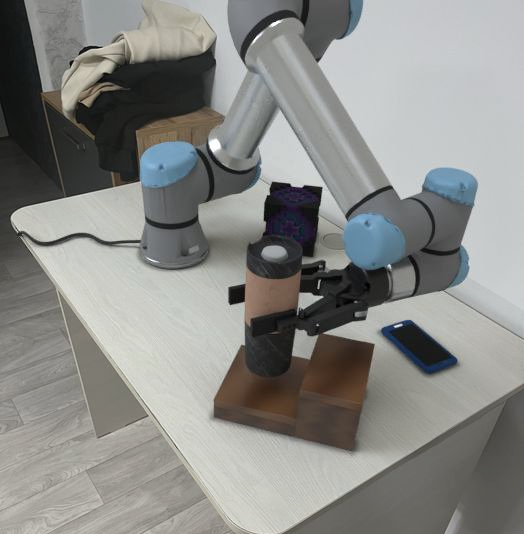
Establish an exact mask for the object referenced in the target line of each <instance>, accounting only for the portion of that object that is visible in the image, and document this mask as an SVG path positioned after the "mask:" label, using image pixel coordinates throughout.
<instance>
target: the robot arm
mask: <svg viewBox="0 0 524 534" xmlns="http://www.w3.org/2000/svg"><path fill="white" fill-rule="evenodd" d="M226 6H227V7H226V8H227V9H226V13H227V14H226V15H227V24H228V30H229V33H230V37H231V40H232V44H233V47H234V49H235V50H236V53H237V55H238V57H239V58H240V60H241V61H242V63H243V65H244V66H245V68H246V69H247V72H246V73H245V75H244V77H243V80H242V82H241V84H240V86H239V88H238V90H237V92H236V95H235V97H234V98H233V101H232V103H231V105H230V107H229V109H228V112H227V114H226V115H225V117H224V120H223V122H222V123H220V124H218V125H215V126H214V127H213V128H212V129H211V130H210V132H209V134H208V136H207V137H206V139H205V142H204V143H203V144H201V145H197V146H194V145H193V144H191V143H190V142H186V141H180V140H176V141H172V142H171V141H166V142H160V143H157V144H154V145H152V146H149V148H147V149H146V150H145V151H144V152H143V153H142V155H141V157H140V160H139V181H140V185H141V194H142V205H143V213H144V226H143V230H142V234H141V239H124V240H123V239H122V240H113V241H111V240H104V239H100V238H99V237H98V236H95V234H92V233H89V232H75V233H71V234H67V235H64V236H62V237H60V238H57V239H54V240H50V241H42V240H41V241H40V240H37V239H35V238H34V237H32V236H31V235H30V234H29V233H28V232H26V231H24V230H20V231H18V232H17V233H16V236H17V237H20V236H21V235H23V236H24V237H26V238H27V239H29V241H31V242H33V243H34V244H36V245H39V246H40V245H41V246H49V245H55V244H58V243H61V242H65V241H66V240H68V239H72V238H75V237H89V238H91V239H93V240H94V241H96V242H98V243H100V244H103V245H109V246H111V245H122V244H139V252H140V253H139V254H140V257H141V259H142V260H143V261H144V262H145V263H147V264H148V265H151V266H153V267H156V268H160V269H165V270H166V269H167V270H169V269H170V270H178V269H185V268H189V267H193V266H195V265H197V264H199V263H202V261H204V260H205V259H206V258H207V256H208V253H209V245H208V240H207V238H206V235H205V233H204V230H203V227H202V224H201V222H200V217H199V216H200V214H199V205H202V204H205V203H208V202H211V201H215V200H218V199H222V198H226V197H229V196H232V195H239V194H242V193H244V192H246V191H248V190H250V189H252V188H253V187H254V186H255V185H256V184H257V183H258V181H259V179H260V177H261V173H262V167H261V165H262V164H263V163H262V161H263V160H262V156H261V151H260V145H261V143H262V142H263V140H264V138H265V136H266V135H267V133H268V131H269V130H270V129H271V127H272V125H273V123H274V121H275V120H276V118H277V116H278V115H279V114H280V112H281V113H282V115H283V117H284V119H285V120H286V122H287V123H288V125H289V127H290V128H291V130H292V132H293V133H294V135H295V136H296V138H297V140H298V141H299V143H300V145H301V146H302V148H303V150H304V151H305V153H306V155H307V156H308V158H309V160H310V161H311V163H312V164H313V166H314V168H315V170H316V171H317V173H318V174H319V176H320V178H321V179H322V181H323V183H324V185H325V186H326V188H327V189H328V191H329V192H330V194H331V196H332V198H333V199H334V201H335V202H336V204H337V205H338V208H339V210H340V211H341V212H342V214H343V216H344V218H345V220H346V221H347V223H346V225H345V226H344V229H343V232H342V243H343V244H344V252H345V255H346V256H347V258H348V259H349V261H350V262H348V264H347V265H346V266H345V267H344V268H341V269H340V268H339V269H337V268H332V269H330V268H329V267H327V261H326V260H325V259H320V260H316V261H313V262H311V263H310V262H308V263H302V266H301V278H300V289H299V294H312V296H314V297H321V298H319V299H318V300H316V301H315V302H313V303H311V304H309V305H308V306H306V307H304V308H302V307H298V312H297V315H296V310H295V309H290V310H286V311H283V312H277V313H273V314H268V315H264V316H260V317H255V318H251V319H250V335H251V337H252V338H253V337H257V336H261V335H265V334H269V333H273V332H278V333H282V332H285V331H290V330H294V329H296V330H298V331H305V332H306V335H307V336H308V337H309V338H313V337H316V336H318V335H319V334H322V333H324V334H325V333H326V332H327V333H328V332H330V331H332V330H334V329H338V328H340V327H342V326H345V325H348V324H350V323H354V322H364V321H366V320H367V317H368V312H369V308H374V307H378V306H382V305H383V304H389V303H393V302H398V301H401V300H405V299H410V298H414V297H419V296H423V295H428V294H433V293H439V292H444V291H446V290H447V289H450V288H453V287H456V286H459V285H461V284H462V283H463V282H464V281H465V280H466V278H467V277H468V275H469V272H470V265H469V260H470V256H469V253H468V251H467V249H466V248H465V246H464V245H463V244H462V242H463V240H464V236H465V233H466V230H467V227H468V223H469V220H470V217H471V215H472V212H473V209H474V207H475V200H476V196H477V192H478V188H479V181H478V180H477V178H476V177H475V176H474V175H473V174H472V173H470V172H468V171H465V170H463V169H459V168H454V167H436V168H433V169H431V170H430V171H428V173H426V175H425V178H424V181H423V183H422V185H421V191H420V192H419V193H416V194H413V195H411V196H408V197H405V198H402V199H401V197H400V196H399V194H398V192H397V190H396V189H395V188H394V186H393V184H392V183H391V181H390V179H389V177H388V176H387V175H386V173H385V171H384V170H383V168H382V167H381V165H380V163H379V161H378V160H377V158H376V157H375V155H374V153H373V152H372V150H371V149H370V147H369V146H368V143H367V141H366V140H365V138H363V135H362V134H361V132H360V131H359V129H358V127H357V126H356V124H355V122H354V121H353V119H352V117H351V116H350V113H348V111H347V109H346V107H345V106H344V104H343V102H342V101H341V99H340V98H339V96H338V95H337V93H336V91H335V90H334V88H333V86H332V84H331V83H330V82H329V80H328V78H327V76H326V74H325V73H324V71H323V70H322V68H321V66H320V65H319V63H320V61H322V58H323V56H324V54H325V53H326V52H327V50H328V48H329V47H330V45H331V44H332V42H333V41H335V40H337V41H338V40H339V41H341V40H343V39H345V38H346V37H348V36H350V35H351V34H352V33H353V32H355V30H356V29H357V26H358V25H359V23H360V21H361V18H362V14H363V9H364V0H227V5H226ZM245 285H246V283H242V284H241V283H240V284H237V285H231V286H228V288H227V293H228V295H227V303H228V304H229V306H234V305H239V304H243V303H245Z"/></svg>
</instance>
